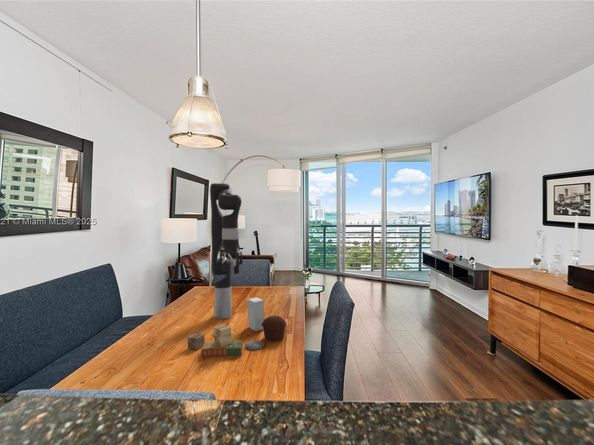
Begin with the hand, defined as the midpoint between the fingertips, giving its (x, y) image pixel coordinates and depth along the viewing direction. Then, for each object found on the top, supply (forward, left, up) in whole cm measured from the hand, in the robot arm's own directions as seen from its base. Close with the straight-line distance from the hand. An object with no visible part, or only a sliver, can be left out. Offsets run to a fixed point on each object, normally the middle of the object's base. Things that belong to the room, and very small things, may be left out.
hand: (230, 272), depth 145 cm
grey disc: (+15, +1, -31) cm, 35 cm away
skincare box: (-1, +16, -31) cm, 35 cm away
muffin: (+15, +13, -31) cm, 37 cm away
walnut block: (-4, -16, -31) cm, 35 cm away
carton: (+10, -12, -32) cm, 35 cm away
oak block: (+10, -12, -27) cm, 31 cm away
